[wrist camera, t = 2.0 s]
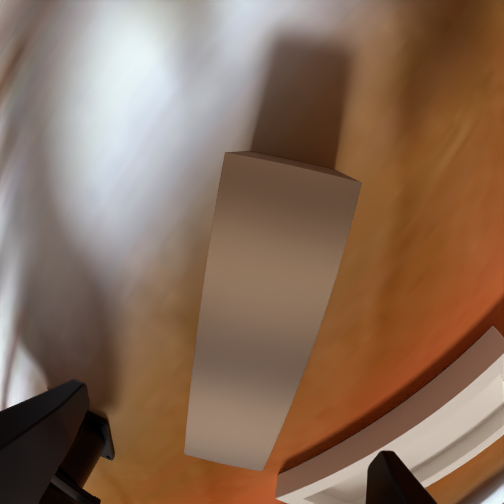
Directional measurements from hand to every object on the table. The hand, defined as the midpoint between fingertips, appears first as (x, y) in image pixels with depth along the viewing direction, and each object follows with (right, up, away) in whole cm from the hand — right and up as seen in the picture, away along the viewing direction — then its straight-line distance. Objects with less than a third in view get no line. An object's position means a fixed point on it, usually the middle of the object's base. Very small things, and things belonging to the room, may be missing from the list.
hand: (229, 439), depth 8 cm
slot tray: (+13, -9, +11) cm, 20 cm away
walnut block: (+1, +3, +9) cm, 10 cm away
